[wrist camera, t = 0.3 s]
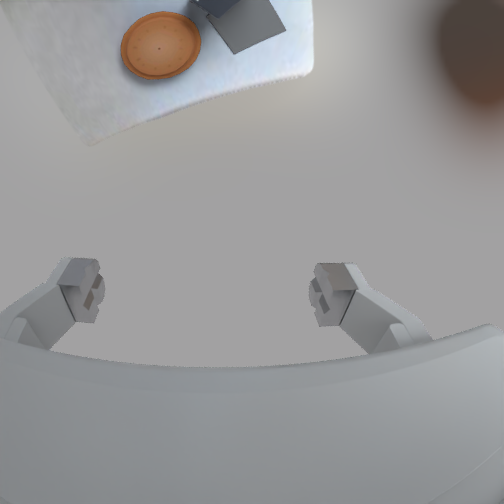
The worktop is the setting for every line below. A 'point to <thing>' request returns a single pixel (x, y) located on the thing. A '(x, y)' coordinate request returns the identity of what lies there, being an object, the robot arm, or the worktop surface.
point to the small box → (215, 6)
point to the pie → (160, 45)
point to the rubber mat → (248, 24)
